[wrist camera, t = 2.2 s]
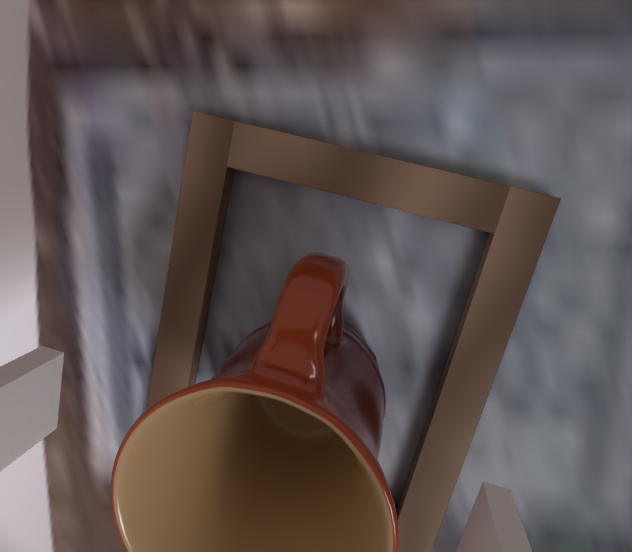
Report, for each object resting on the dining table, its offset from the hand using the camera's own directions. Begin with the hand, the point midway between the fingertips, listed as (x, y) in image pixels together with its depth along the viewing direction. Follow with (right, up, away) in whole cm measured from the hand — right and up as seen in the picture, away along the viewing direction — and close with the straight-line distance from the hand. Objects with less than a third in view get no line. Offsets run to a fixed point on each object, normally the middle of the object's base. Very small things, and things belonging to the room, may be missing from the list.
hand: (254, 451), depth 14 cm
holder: (+2, +2, +9) cm, 9 cm away
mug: (+2, +2, +9) cm, 10 cm away
